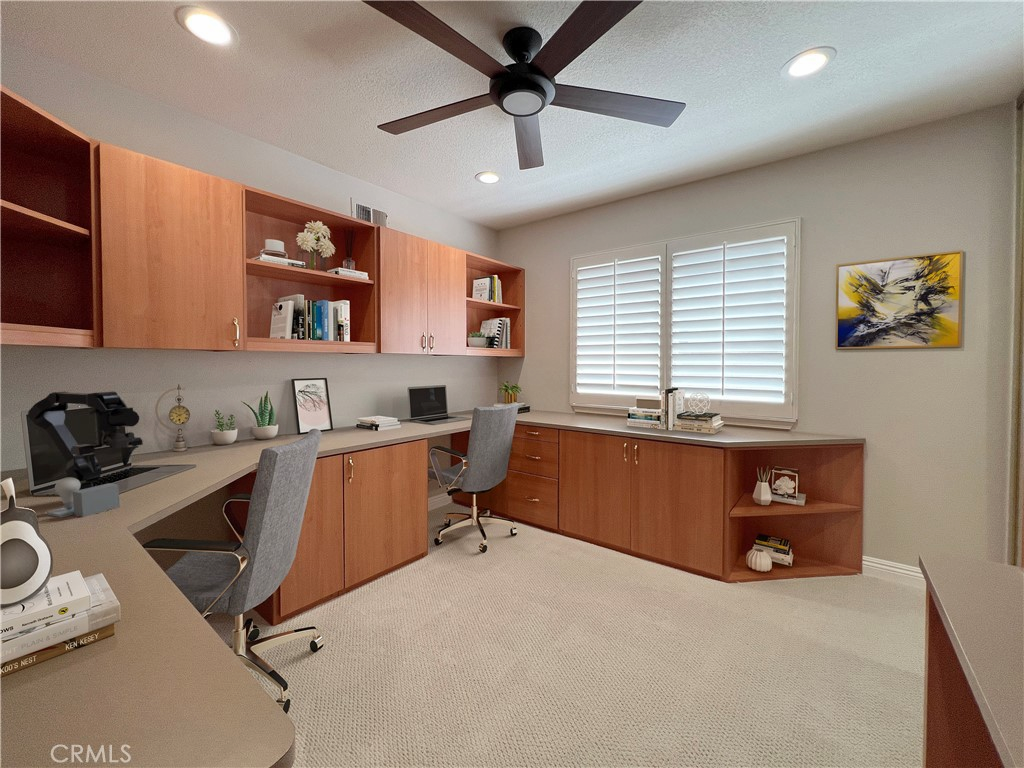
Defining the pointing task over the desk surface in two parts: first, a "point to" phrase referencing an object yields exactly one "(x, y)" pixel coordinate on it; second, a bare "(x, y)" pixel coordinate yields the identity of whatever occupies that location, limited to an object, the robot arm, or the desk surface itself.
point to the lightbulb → (67, 490)
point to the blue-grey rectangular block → (95, 499)
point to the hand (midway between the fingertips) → (110, 468)
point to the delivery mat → (61, 512)
